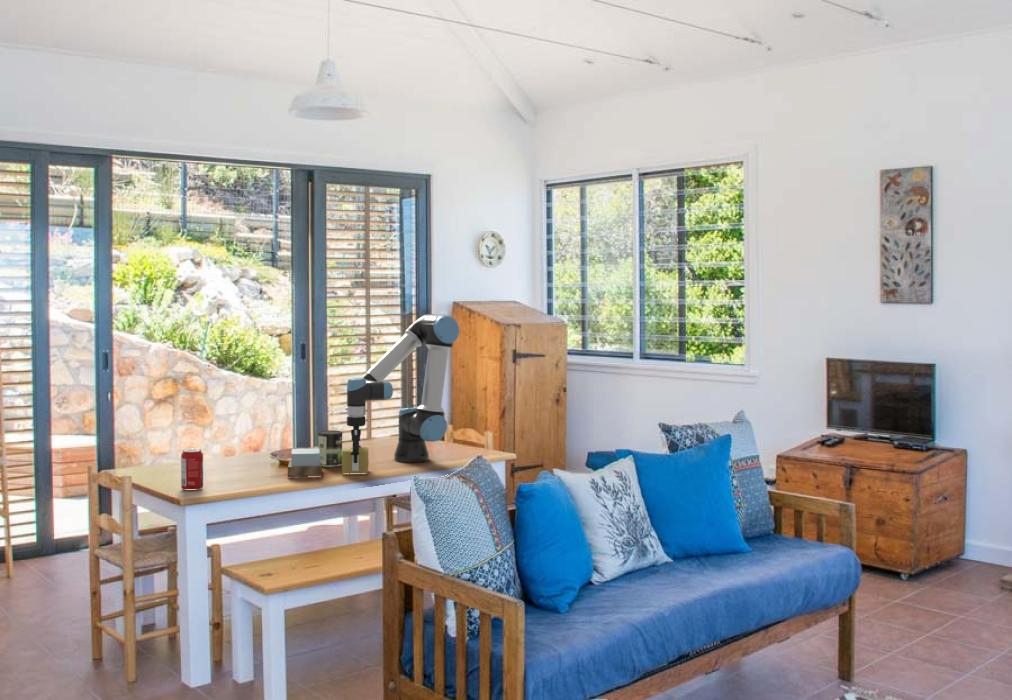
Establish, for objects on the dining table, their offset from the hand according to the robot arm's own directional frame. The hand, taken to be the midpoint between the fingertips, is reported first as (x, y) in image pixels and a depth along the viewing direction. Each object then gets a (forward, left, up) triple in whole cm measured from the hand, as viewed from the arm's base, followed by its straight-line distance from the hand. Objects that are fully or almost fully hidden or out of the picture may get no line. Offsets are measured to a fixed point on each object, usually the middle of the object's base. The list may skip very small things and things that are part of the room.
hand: (355, 467), depth 416 cm
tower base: (+20, +3, -3) cm, 21 cm away
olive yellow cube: (0, 0, -2) cm, 2 cm away
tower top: (+20, +3, +2) cm, 20 cm away
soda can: (+60, +29, -2) cm, 67 cm away
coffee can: (+11, -17, -2) cm, 20 cm away
